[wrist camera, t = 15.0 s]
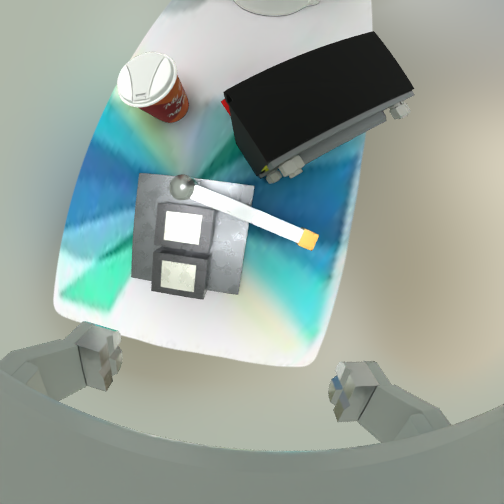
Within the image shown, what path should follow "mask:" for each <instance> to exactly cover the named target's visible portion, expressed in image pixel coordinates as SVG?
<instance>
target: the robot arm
mask: <svg viewBox="0 0 504 504" xmlns="http://www.w3.org/2000/svg"><path fill="white" fill-rule="evenodd" d="M234 1H235V3H236V4H237V5H239V6H240V7H242V8H243V9H245V10H247V11H250V12H253V13H256V14H260V15H267V16H282V15H288V14H292V13H295V12H297V11H299V10H300V9H302V8H304V7H306V6H311V5H316V4H318V3H319V0H234ZM120 342H121V337H120V333H119V331H117V330H113V329H110V328H106V327H103V326H100V325H97V324H93V323H90V322H86V321H83V322H82V323H81V324H80V325H78V327H76V328H75V329H74V330H73V331H72V332H71V333H70V334H69V335H68V336H67V337H66V338H65V339H64V340H61V339H59V340H55V341H51V342H47V343H43V344H39V345H35V346H31V347H27V348H23V349H19V350H14V351H11V352H10V353H9V354H7V355H6V356H5V357H4V358H3V359H2V360H1V361H0V504H504V404H503V405H500V406H498V407H496V408H494V409H492V410H490V411H487V412H485V413H483V414H480V415H478V416H475V417H473V418H470V419H468V420H465V421H462V422H459V423H456V424H454V425H451V424H450V423H449V421H448V420H447V418H446V417H445V416H444V414H443V413H442V412H441V410H440V409H439V408H437V407H435V406H434V405H432V404H430V403H428V402H426V401H424V400H422V399H420V398H418V397H417V396H414V395H413V394H411V393H409V392H407V391H406V390H404V389H402V388H400V387H398V386H396V385H392V384H391V383H390V381H389V380H388V378H387V377H386V375H385V374H384V373H383V371H382V369H381V368H380V367H379V365H378V364H377V362H375V361H367V362H366V361H365V362H339V364H338V365H337V367H336V370H335V371H336V374H337V376H335V377H334V378H333V379H332V380H331V383H330V385H329V391H328V394H329V399H330V402H331V403H332V404H334V405H335V408H334V410H333V411H334V413H335V416H336V419H337V422H350V421H358V423H359V424H360V425H362V426H363V427H364V428H365V429H366V430H367V431H368V432H370V433H371V434H372V435H373V436H374V437H375V438H376V439H378V440H379V441H380V442H381V443H378V444H372V445H366V446H358V447H350V448H341V449H329V450H313V451H312V450H311V451H266V450H265V451H264V450H247V449H235V448H225V447H217V446H209V445H203V444H197V443H191V442H185V441H180V440H175V439H170V438H166V437H161V436H157V435H153V434H149V433H145V432H141V431H138V430H134V429H131V428H127V427H124V426H121V425H118V424H115V423H111V422H109V421H106V420H103V419H100V418H97V417H95V416H92V415H89V414H87V413H84V412H82V411H79V410H77V409H75V408H72V407H70V406H68V405H65V404H63V403H61V402H59V401H60V400H62V399H64V398H66V397H68V396H69V395H71V394H73V393H75V392H77V391H79V390H81V389H82V388H85V387H86V385H87V386H90V387H93V388H96V389H99V390H102V391H107V390H108V388H109V386H110V385H111V383H112V382H113V379H112V376H113V375H115V374H117V373H118V371H119V370H120V367H121V364H122V350H121V349H120V347H119V346H118V345H119V343H120Z"/></svg>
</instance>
